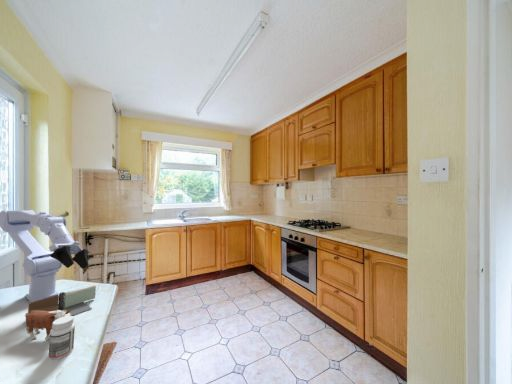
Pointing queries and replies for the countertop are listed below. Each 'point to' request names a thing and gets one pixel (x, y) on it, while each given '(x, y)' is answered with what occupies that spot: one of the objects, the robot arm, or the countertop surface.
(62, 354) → the pill bottle
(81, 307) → the board
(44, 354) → the countertop surface
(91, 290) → the fence gate
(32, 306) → the fence section
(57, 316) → the bull figurine
